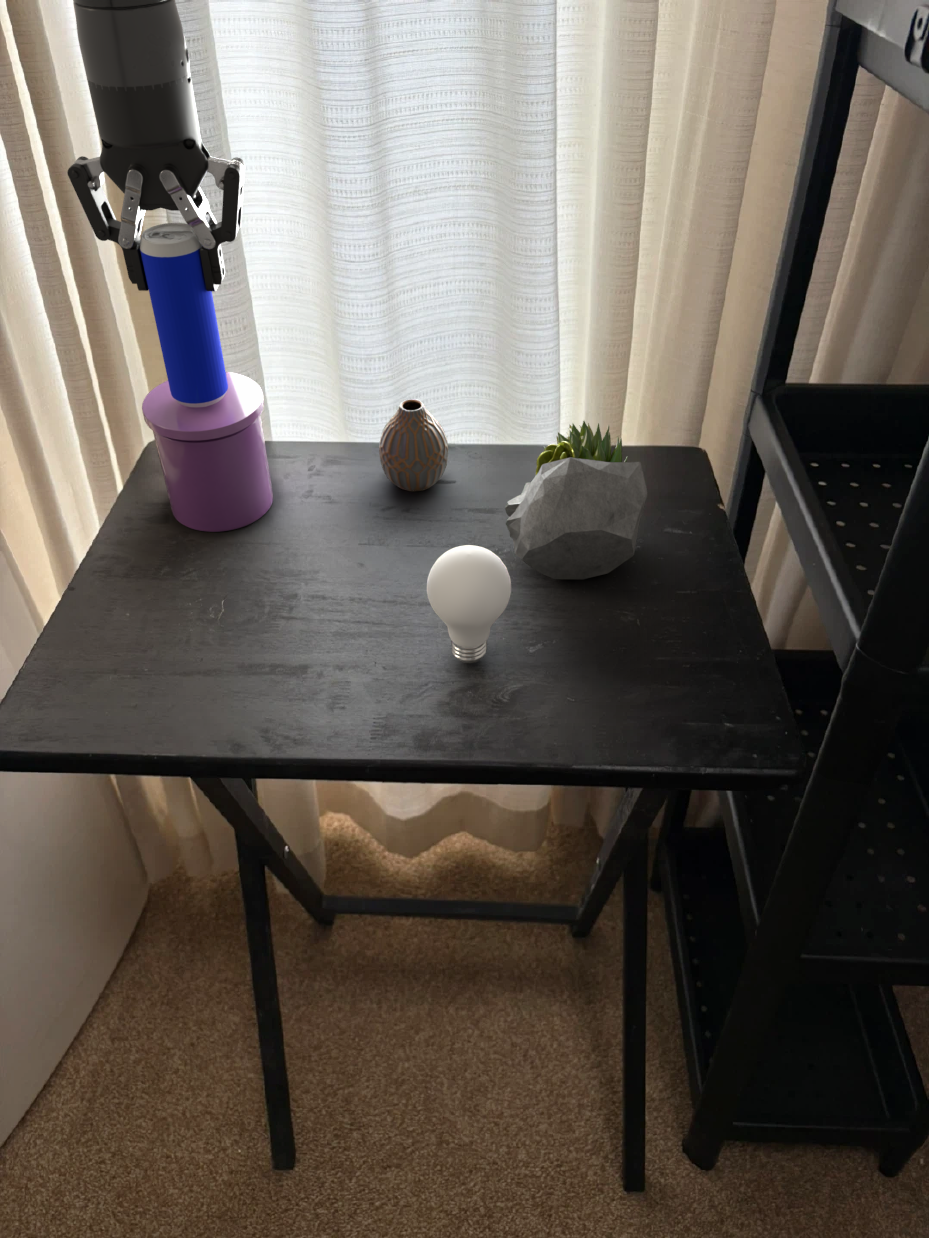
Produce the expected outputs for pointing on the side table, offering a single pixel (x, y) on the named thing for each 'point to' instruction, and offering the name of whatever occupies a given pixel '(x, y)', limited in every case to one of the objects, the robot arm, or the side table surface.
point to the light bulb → (468, 597)
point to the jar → (213, 456)
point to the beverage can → (184, 314)
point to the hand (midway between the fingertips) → (179, 286)
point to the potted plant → (578, 507)
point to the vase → (413, 447)
